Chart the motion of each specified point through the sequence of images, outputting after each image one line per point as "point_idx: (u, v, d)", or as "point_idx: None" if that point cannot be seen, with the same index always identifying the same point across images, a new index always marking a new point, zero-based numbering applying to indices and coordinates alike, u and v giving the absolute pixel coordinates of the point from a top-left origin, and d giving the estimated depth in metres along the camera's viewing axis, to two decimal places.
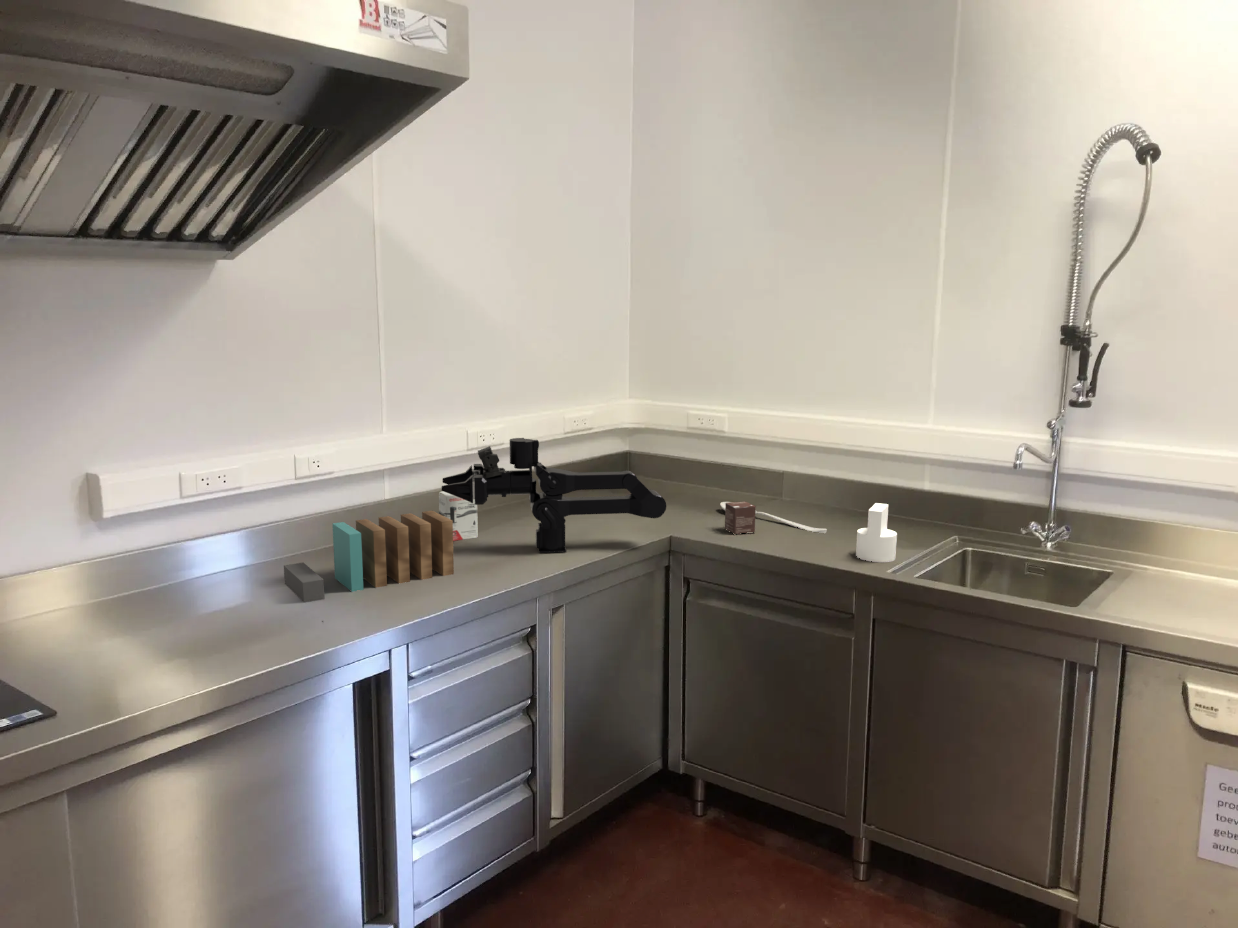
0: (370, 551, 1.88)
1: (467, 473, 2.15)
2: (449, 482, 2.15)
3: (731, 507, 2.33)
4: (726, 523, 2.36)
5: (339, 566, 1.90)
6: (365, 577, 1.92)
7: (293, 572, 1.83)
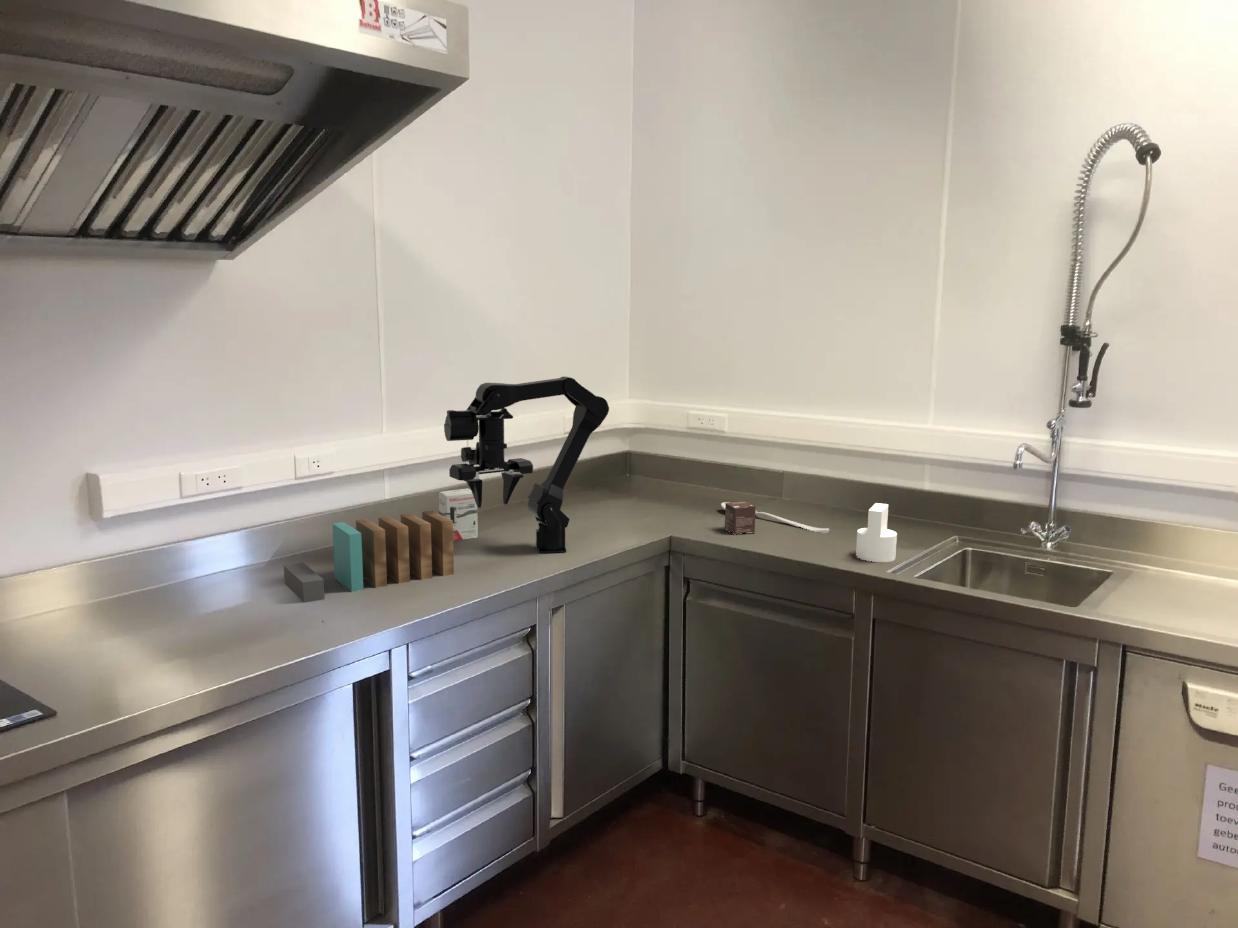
0: (370, 551, 1.88)
1: (503, 478, 2.11)
2: (506, 497, 2.10)
3: (731, 507, 2.33)
4: (726, 523, 2.36)
5: (339, 566, 1.90)
6: (365, 577, 1.92)
7: (293, 572, 1.83)
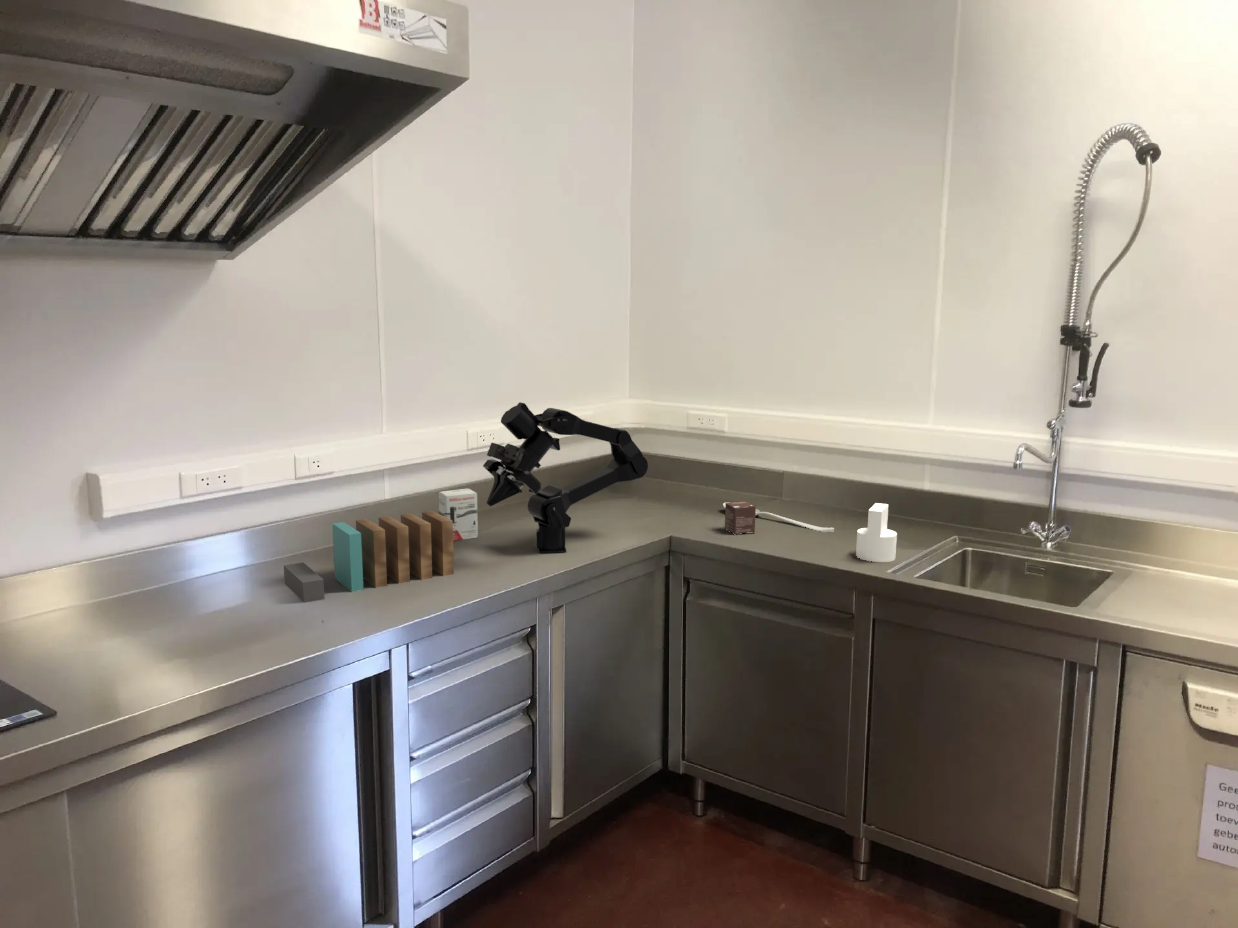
0: (370, 551, 1.88)
1: (499, 480, 2.07)
2: None
3: (731, 507, 2.33)
4: (726, 523, 2.36)
5: (339, 566, 1.90)
6: (365, 577, 1.92)
7: (293, 572, 1.83)
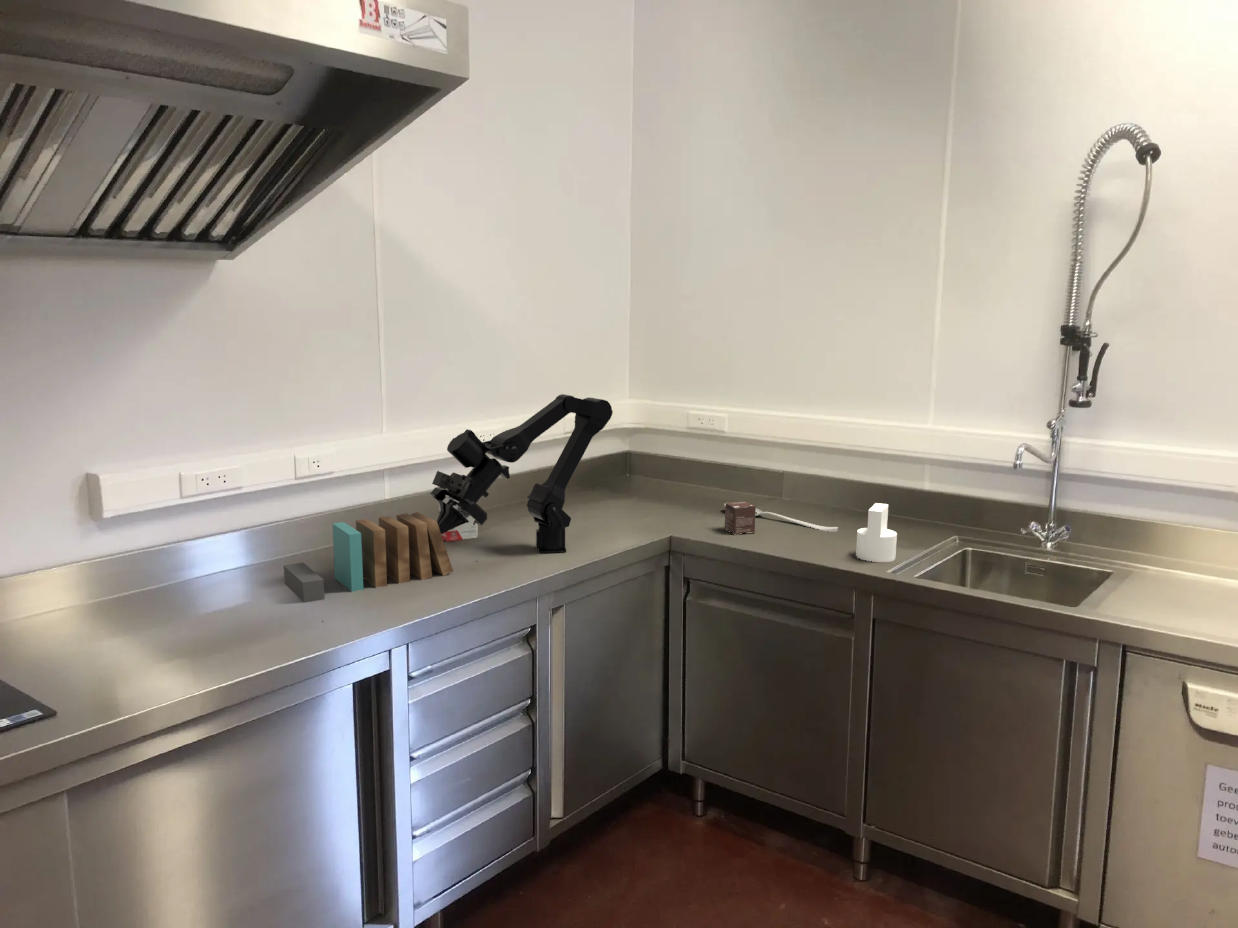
0: (370, 551, 1.88)
1: (445, 509, 2.00)
2: None
3: (731, 507, 2.33)
4: (726, 523, 2.36)
5: (339, 566, 1.90)
6: (365, 577, 1.92)
7: (293, 572, 1.83)
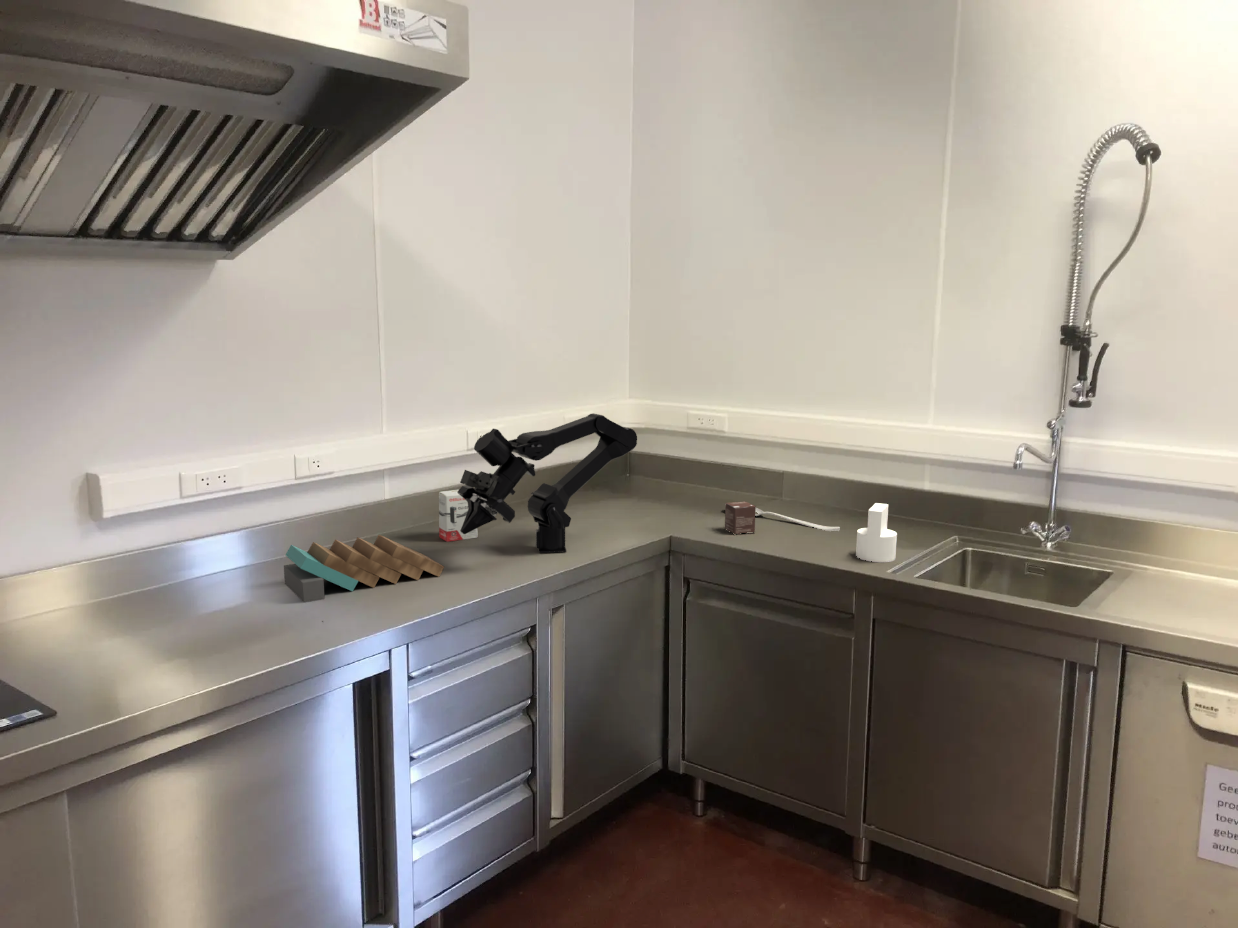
0: None
1: (473, 507, 2.04)
2: None
3: (731, 507, 2.33)
4: (726, 523, 2.36)
5: None
6: None
7: (293, 572, 1.83)
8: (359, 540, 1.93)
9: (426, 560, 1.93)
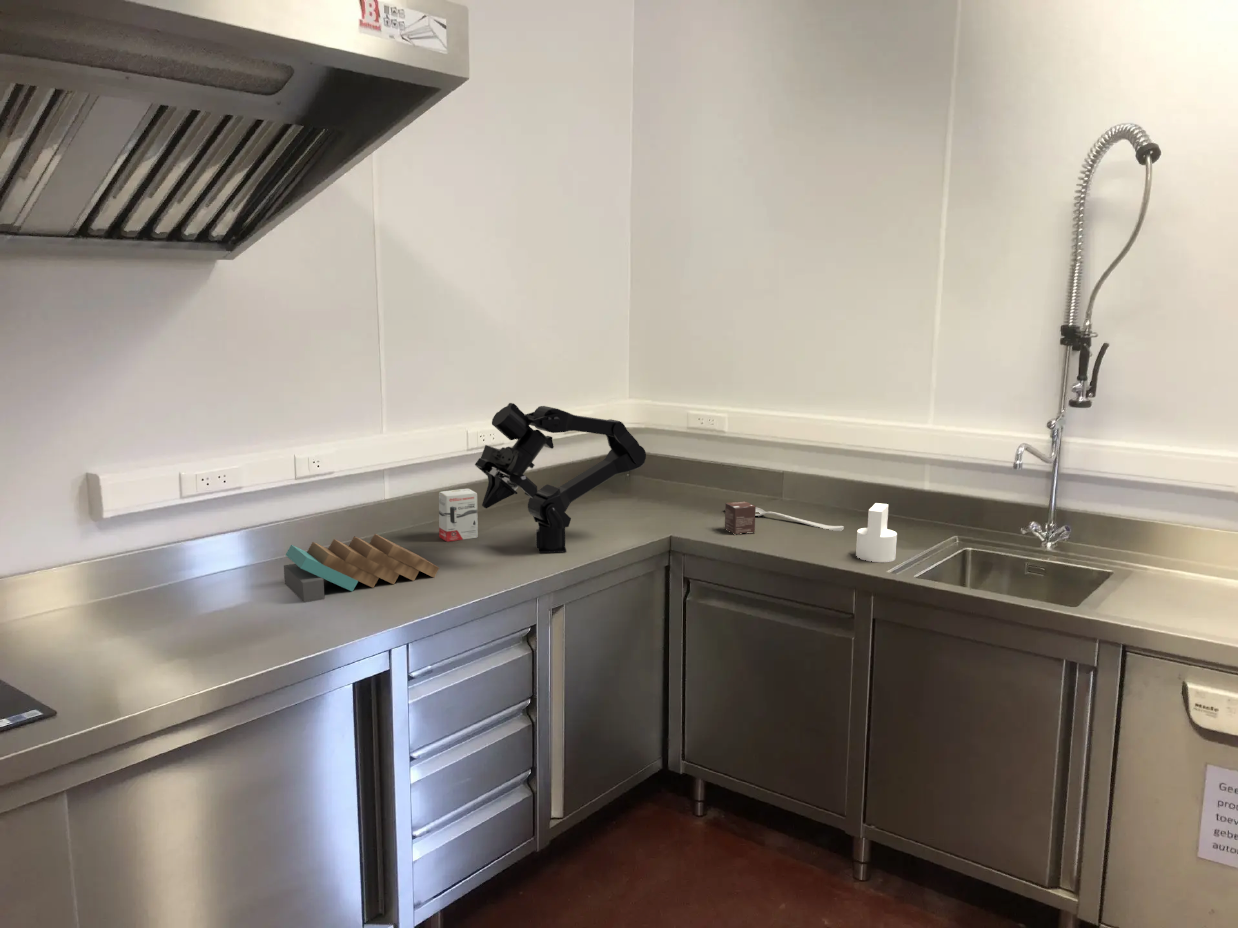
0: None
1: (493, 482, 2.06)
2: None
3: (731, 507, 2.33)
4: (726, 523, 2.36)
5: None
6: None
7: (293, 572, 1.83)
8: (356, 539, 1.93)
9: (421, 560, 1.92)
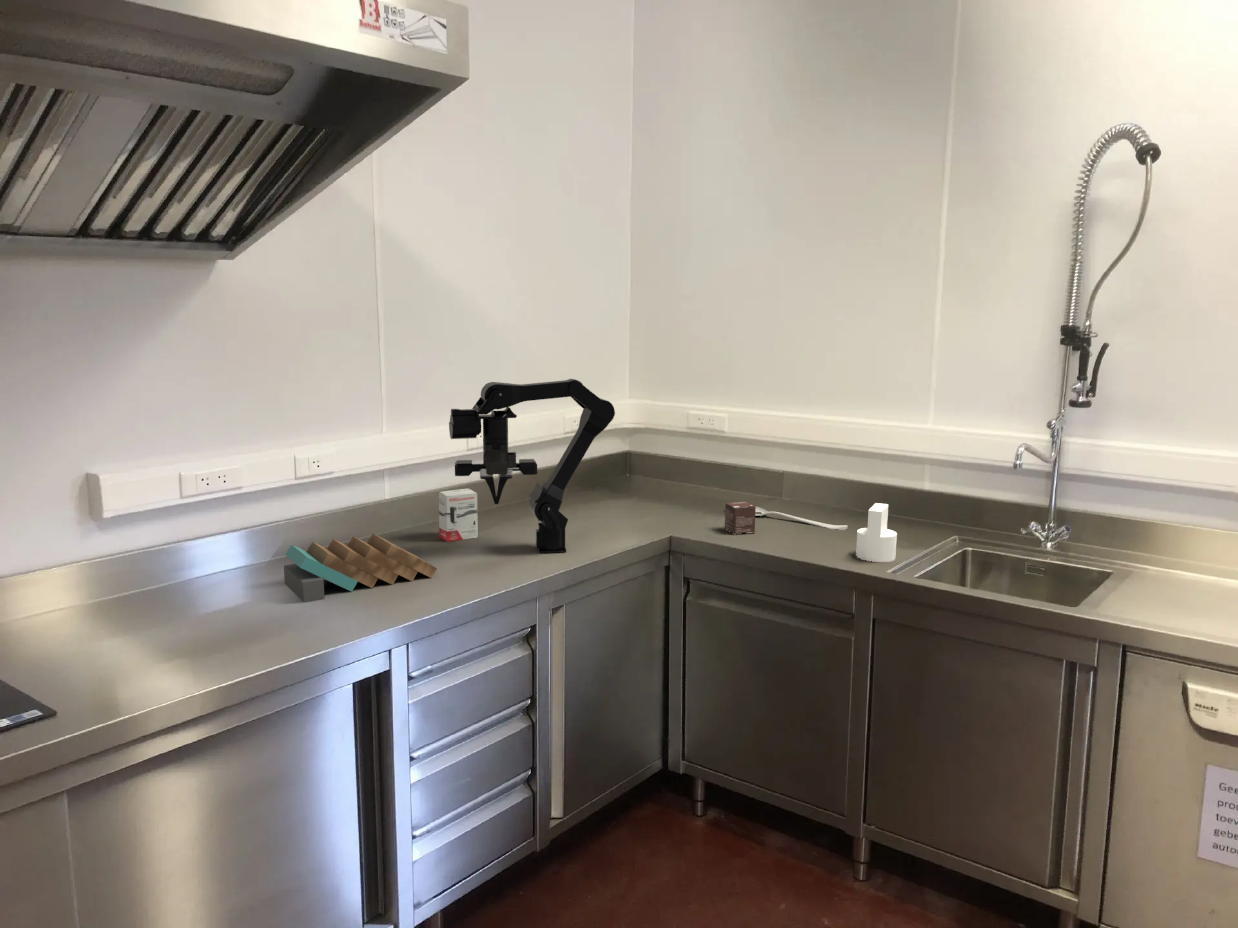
0: None
1: (493, 480, 2.08)
2: None
3: (731, 507, 2.33)
4: (726, 523, 2.36)
5: None
6: None
7: (293, 572, 1.83)
8: (355, 539, 1.93)
9: (419, 561, 1.92)
